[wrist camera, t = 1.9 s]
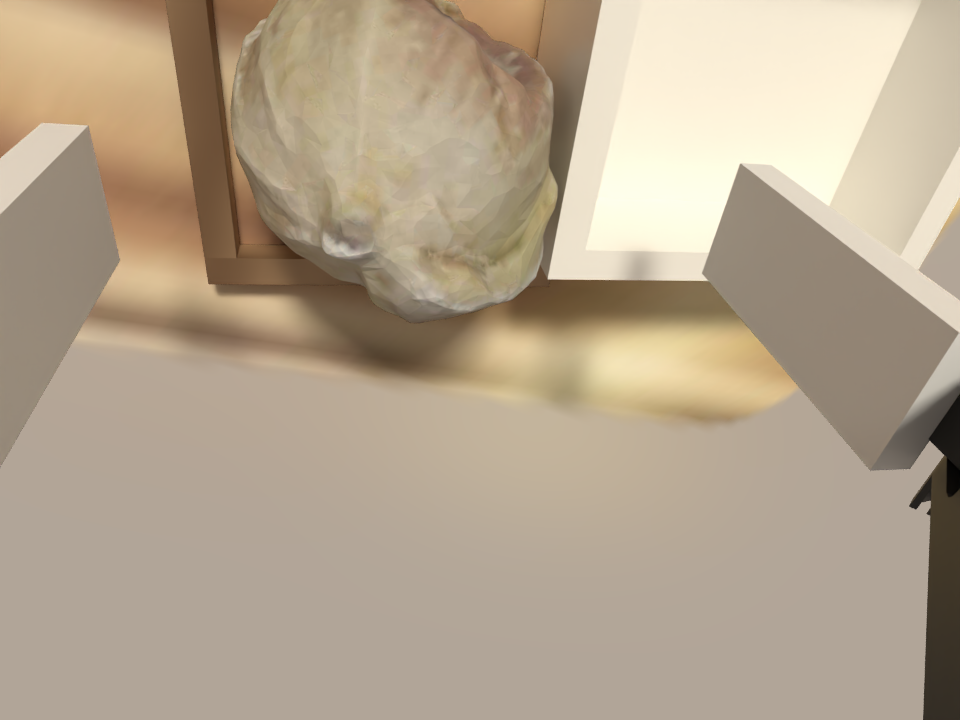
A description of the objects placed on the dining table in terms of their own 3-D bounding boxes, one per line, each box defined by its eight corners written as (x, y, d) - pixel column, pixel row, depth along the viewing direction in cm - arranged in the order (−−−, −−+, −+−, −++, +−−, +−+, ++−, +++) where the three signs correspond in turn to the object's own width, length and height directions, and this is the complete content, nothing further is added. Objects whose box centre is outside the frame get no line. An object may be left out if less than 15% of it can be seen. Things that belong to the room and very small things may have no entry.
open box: (513, 212, 24) (547, 279, 20) (588, -286, 16) (666, -329, 12) (828, 221, 26) (910, 283, 23) (1022, -202, 19) (1194, -215, 15)
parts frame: (212, 269, 23) (208, 284, 22) (141, -222, 15) (130, -226, 15) (542, 273, 26) (548, 286, 25) (621, -149, 18) (635, -149, 17)
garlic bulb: (483, 155, 25) (594, 365, 20) (251, 193, 23) (307, 438, 17) (512, -145, 17) (708, 68, 12) (167, -130, 15) (220, 136, 10)
